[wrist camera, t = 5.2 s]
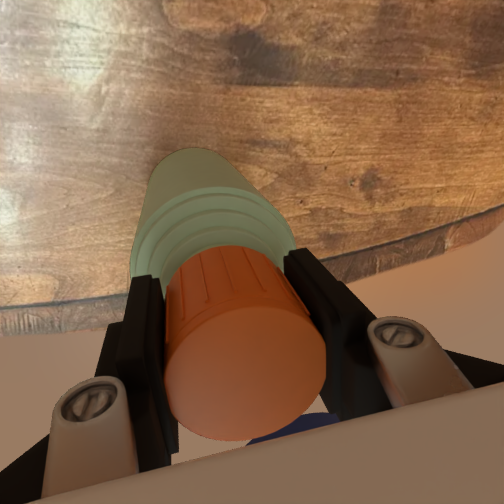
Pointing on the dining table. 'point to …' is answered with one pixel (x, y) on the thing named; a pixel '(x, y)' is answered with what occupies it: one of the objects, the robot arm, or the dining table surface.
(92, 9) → the dining table surface
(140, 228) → the bottle
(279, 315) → the cap
